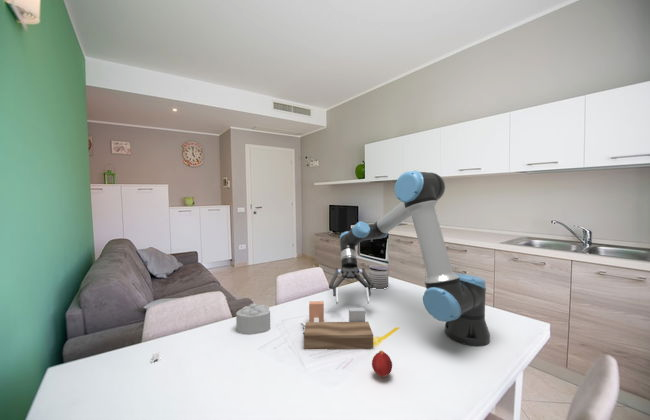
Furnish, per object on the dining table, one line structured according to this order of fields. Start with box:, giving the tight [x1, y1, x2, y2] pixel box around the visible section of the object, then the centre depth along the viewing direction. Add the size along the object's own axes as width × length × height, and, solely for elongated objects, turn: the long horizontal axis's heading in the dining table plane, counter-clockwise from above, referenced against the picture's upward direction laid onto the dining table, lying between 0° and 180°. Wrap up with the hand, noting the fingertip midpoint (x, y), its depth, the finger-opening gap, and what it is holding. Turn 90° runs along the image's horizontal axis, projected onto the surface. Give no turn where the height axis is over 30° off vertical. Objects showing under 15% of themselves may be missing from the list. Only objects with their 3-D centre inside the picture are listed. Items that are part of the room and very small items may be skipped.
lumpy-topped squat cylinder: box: [235, 302, 271, 336], centre depth 108 cm, size 10×13×9 cm
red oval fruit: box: [371, 349, 393, 378], centre depth 79 cm, size 6×6×8 cm
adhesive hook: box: [149, 351, 162, 364], centre depth 87 cm, size 3×3×3 cm
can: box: [368, 265, 390, 290], centre depth 158 cm, size 11×11×12 cm
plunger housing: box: [303, 321, 374, 350], centre depth 98 cm, size 10×24×5 cm, turn 91°
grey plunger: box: [348, 307, 366, 322], centre depth 101 cm, size 12×6×8 cm, turn 1°
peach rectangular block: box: [308, 300, 325, 322], centre depth 107 cm, size 12×6×8 cm, turn 1°
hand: (352, 302), depth 116 cm, fingers open, 13 cm apart
